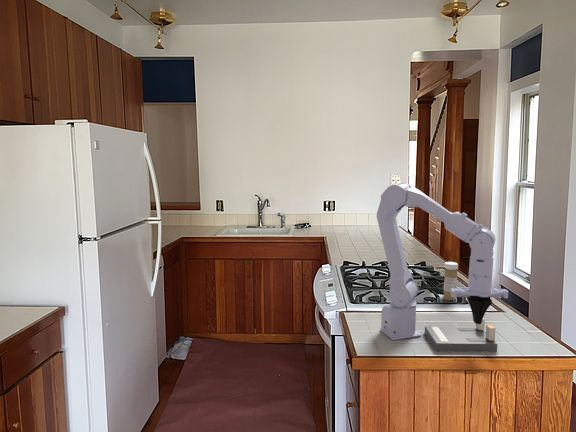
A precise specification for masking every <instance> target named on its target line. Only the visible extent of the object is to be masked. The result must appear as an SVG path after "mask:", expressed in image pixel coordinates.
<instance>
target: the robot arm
mask: <svg viewBox="0 0 576 432" xmlns="http://www.w3.org/2000/svg"><path fill="white" fill-rule="evenodd" d="M378 204H379V205H378V208H377V212H376V220H377V224H378V228H379V232H380V236H381V241H382V245H383V248H384V253H385V257H386V262H387V264H388V269H389V270H388V271H389V274H390V277H389V280H388V283H389V292H388V298H389V301H390V303H389V304H387V305H384V306H383V307H382V309H381V321H380V328H379V330H380V331H381V332H382V333H383V334H384V335H386V336H387V337H388V338H390V339H391V340H392V341H396V340H402V339H408V338H410V339H411V338H418V337H422V334H421V332H420V331H417V330H416V321H417V317H416V316H417V301H416V298H415V297H417V295H418V293H419V286H418V284H417V281H415V279H414V277H413V274H412V273H411V271H410V270H409V268H408V264H407V259H406V256H405V251H404V248H403V244H402V239H401V236H400V231H399V226H398V221H397V216H398V214H399V213H400V212H401V210H402V209H403V208H404V207H406V208H407V207H408V208H409V207H410V208H420V209H421V210H423V211H424V212H426V213H427V214H429V215H431V216H433V217H434V218H437V219H438V220H439V221H441V222H442V223H444V229H445V230H446V231H448V232H450V233H451V234H452V235H454V236H455V237H457V238H458V239H460V240H461V241H463V242H464V243H468V244H469V248H470V256H469V267H468V282H467V286H466V287H457V288H456V289H451V296H452V297H453V298H456V299H457V298H465V299H466V300H467V302H468V304H469V308H470V311H471V314H472V320H473V323H474V324H475V325H476V324H481V323H482V319H483V318H484V316H485V314H486V313H487V311H488V309H489V308H490V307H491V305H492V303H493V299H491V298H503V299H508V298H509V291H508V290H507V289H505V288H493V287H492V285H493V284H492V281H493V270H494V269H493V268H494V247H495V244H496V236H495V234H494V232H493V231H492V230H491V229H490V228H489V227H484V225H483V224H481V223H479V224H478V223H477V222H475V221H473V220H472V219H470V218H469V217H468V214H467V213H466V212H462V213H461V212H459V211H455V212H454V211H453V212H451V211H449V210H448V209H447V208H445V207H444V206H442V205H441V204H440V203H438V202H437V201H435V200H434V199H433V198H431V197H430V196H428V194H427V195H426V194H425V193H424V192H423V191H421V190H419V189H418V188H415V187H413V186H411V185H410V184H409V183H408V182H407V183H405V182H401V183H398V184H392V185H390V186H388V187H387V188H385V190H384V191H383V192H382V194H380V201H379V203H378Z"/></svg>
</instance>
